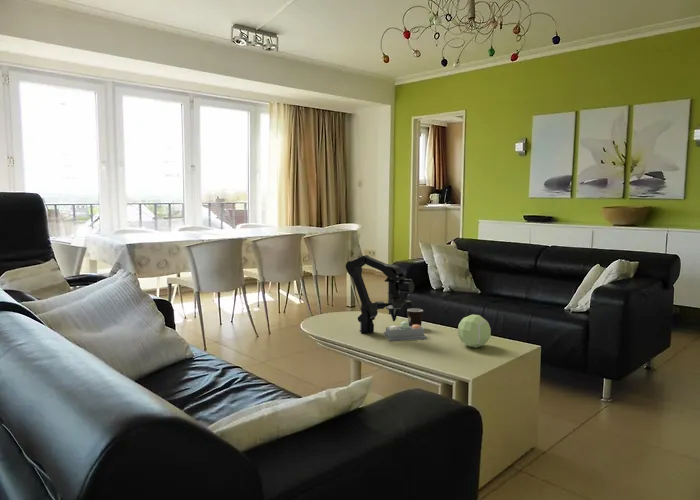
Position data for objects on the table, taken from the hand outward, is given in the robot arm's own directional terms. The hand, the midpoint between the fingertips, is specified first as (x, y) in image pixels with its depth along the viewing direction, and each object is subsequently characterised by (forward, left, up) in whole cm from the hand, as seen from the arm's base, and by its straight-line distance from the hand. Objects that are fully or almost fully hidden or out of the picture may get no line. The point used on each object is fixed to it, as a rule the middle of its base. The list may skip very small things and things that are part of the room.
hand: (393, 321), depth 265 cm
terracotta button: (+12, 0, -7) cm, 14 cm away
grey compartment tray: (+6, 0, -8) cm, 10 cm away
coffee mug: (+16, +17, -9) cm, 25 cm away
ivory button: (0, 0, -7) cm, 7 cm away
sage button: (+6, 0, -5) cm, 8 cm away
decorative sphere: (+33, -23, -9) cm, 41 cm away
